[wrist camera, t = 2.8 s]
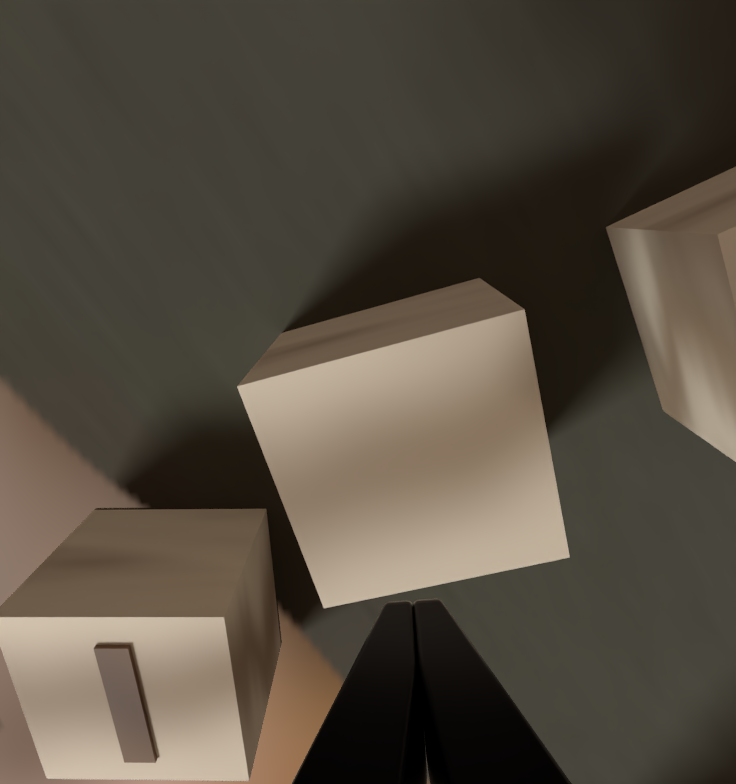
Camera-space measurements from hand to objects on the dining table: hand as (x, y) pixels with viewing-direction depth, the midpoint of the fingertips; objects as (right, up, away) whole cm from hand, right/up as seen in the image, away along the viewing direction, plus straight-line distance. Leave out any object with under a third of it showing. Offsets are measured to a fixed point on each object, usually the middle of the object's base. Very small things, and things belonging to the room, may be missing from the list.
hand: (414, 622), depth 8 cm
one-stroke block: (-7, -3, +11) cm, 13 cm away
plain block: (0, +3, +8) cm, 9 cm away
